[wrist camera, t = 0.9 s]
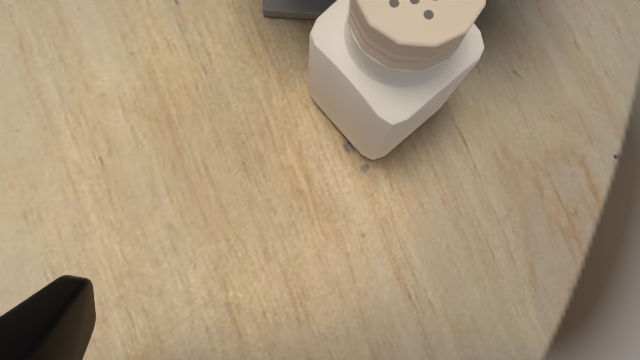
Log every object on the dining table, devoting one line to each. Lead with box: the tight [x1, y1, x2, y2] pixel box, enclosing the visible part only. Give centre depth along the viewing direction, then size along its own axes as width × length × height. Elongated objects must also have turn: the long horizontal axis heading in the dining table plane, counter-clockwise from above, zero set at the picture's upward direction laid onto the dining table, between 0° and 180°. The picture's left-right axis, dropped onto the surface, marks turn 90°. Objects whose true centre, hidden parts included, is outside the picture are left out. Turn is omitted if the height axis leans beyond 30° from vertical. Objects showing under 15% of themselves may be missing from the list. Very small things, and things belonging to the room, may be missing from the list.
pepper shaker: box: [308, 0, 486, 160], centre depth 19 cm, size 4×4×10 cm
